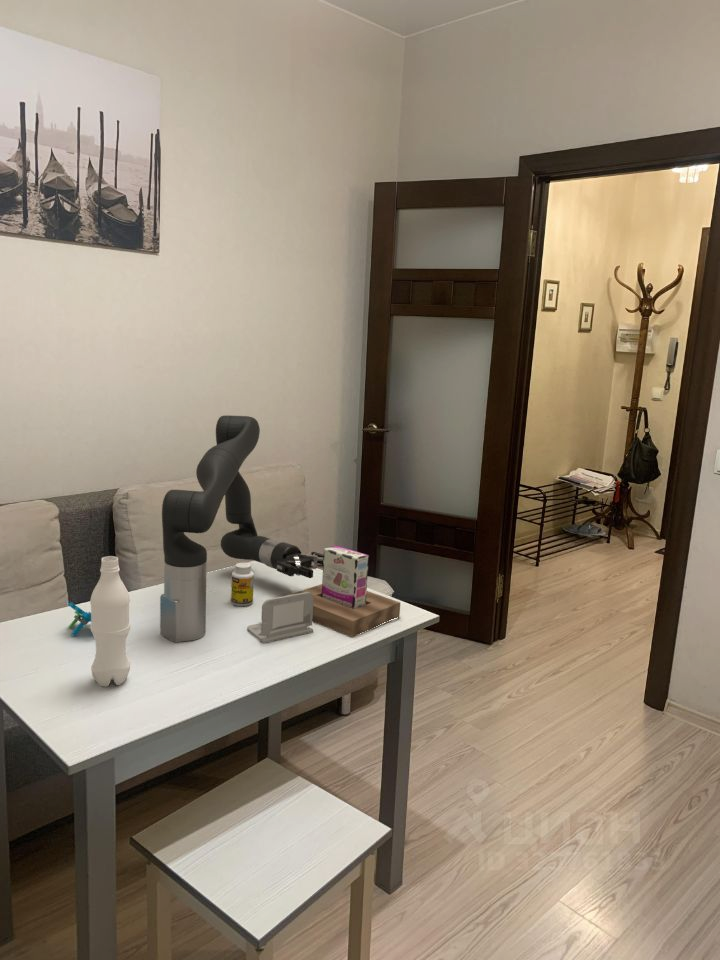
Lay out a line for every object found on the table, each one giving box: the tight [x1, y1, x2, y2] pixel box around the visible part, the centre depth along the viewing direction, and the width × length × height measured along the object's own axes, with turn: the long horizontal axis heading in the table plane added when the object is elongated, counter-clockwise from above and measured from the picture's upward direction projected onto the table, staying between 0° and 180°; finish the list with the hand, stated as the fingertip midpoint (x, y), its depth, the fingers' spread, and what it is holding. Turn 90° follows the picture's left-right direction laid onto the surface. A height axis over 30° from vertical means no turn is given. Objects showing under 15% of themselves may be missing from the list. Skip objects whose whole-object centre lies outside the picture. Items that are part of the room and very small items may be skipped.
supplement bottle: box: [230, 562, 255, 607], centre depth 187 cm, size 6×6×10 cm
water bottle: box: [89, 555, 131, 688], centre depth 142 cm, size 7×7×25 cm
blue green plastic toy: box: [68, 601, 91, 637], centre depth 164 cm, size 11×6×10 cm
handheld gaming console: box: [246, 592, 314, 644], centre depth 171 cm, size 13×9×10 cm
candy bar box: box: [321, 545, 370, 609], centre depth 183 cm, size 11×5×16 cm, turn 49°
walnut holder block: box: [286, 583, 401, 638], centre depth 184 cm, size 18×22×4 cm
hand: (324, 570), depth 187 cm, fingers open, 8 cm apart
